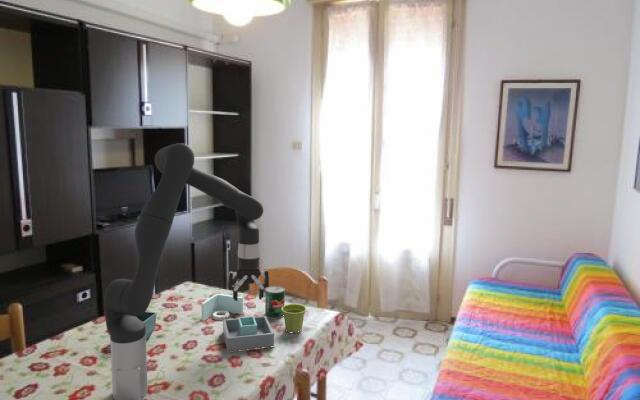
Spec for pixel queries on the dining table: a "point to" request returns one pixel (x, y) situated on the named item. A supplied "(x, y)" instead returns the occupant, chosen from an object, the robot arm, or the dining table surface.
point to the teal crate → (247, 326)
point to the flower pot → (148, 322)
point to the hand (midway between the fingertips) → (248, 299)
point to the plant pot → (293, 317)
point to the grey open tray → (250, 341)
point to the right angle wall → (221, 307)
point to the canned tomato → (274, 301)
